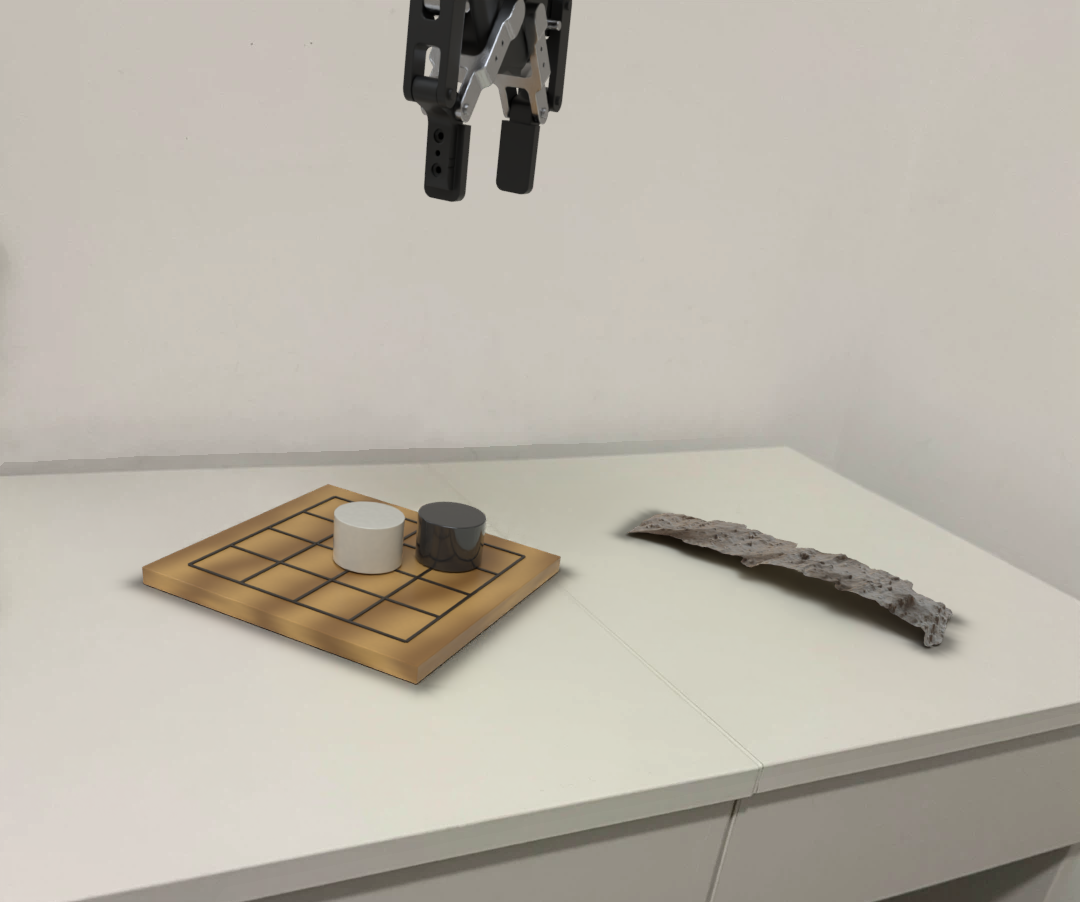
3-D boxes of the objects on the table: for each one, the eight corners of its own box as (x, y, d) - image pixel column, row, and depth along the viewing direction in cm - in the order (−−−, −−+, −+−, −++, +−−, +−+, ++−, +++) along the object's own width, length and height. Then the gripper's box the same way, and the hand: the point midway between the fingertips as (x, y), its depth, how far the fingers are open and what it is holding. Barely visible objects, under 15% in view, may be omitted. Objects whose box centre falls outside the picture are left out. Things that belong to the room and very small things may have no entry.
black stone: (402, 559, 72) (405, 514, 70) (436, 538, 75) (439, 496, 74) (461, 578, 70) (466, 533, 69) (493, 556, 74) (498, 513, 72)
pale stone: (318, 560, 70) (319, 514, 68) (357, 539, 73) (359, 495, 72) (378, 580, 68) (380, 534, 67) (414, 558, 72) (418, 514, 70)
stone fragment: (937, 658, 74) (955, 607, 81) (952, 622, 72) (969, 574, 80) (606, 550, 81) (652, 513, 89) (613, 515, 80) (659, 480, 87)
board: (142, 583, 67) (141, 564, 66) (327, 498, 83) (328, 481, 82) (416, 684, 61) (417, 664, 60) (559, 571, 77) (561, 554, 76)
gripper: (510, -142, 59) (481, 180, 68) (369, -208, 48) (355, 189, 56) (634, -130, 57) (587, 202, 65) (517, -196, 46) (479, 215, 54)
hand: (480, 195), depth 61 cm, fingers open, 8 cm apart
